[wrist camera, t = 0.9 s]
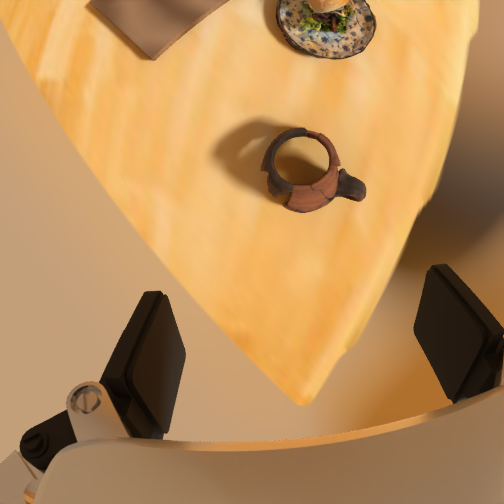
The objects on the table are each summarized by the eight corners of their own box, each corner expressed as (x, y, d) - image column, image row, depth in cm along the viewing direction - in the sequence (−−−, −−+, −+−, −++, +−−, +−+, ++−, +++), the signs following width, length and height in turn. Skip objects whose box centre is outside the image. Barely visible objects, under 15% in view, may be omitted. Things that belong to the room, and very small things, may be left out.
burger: (287, 66, 29) (295, 54, 23) (266, -15, 24) (268, -41, 18) (380, 60, 28) (408, 50, 22) (358, -18, 23) (378, -40, 16)
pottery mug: (260, 209, 38) (248, 193, 29) (276, 141, 38) (268, 112, 30) (354, 230, 35) (368, 219, 27) (366, 160, 35) (379, 133, 27)
